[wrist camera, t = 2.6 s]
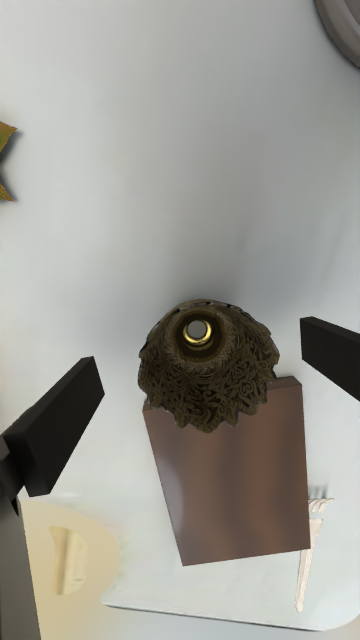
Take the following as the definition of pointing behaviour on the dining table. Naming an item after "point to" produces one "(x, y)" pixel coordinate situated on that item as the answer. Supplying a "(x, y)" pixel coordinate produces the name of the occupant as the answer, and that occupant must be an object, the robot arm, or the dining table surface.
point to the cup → (207, 365)
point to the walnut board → (236, 480)
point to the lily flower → (3, 131)
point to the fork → (309, 551)
